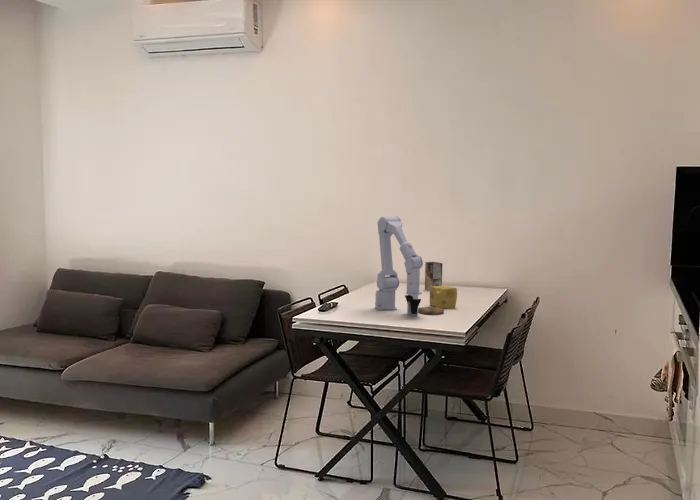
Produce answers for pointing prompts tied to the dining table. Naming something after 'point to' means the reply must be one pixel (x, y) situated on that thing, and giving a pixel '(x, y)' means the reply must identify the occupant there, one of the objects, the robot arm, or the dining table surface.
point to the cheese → (443, 296)
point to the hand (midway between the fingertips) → (412, 312)
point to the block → (410, 310)
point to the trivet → (430, 310)
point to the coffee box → (433, 274)
